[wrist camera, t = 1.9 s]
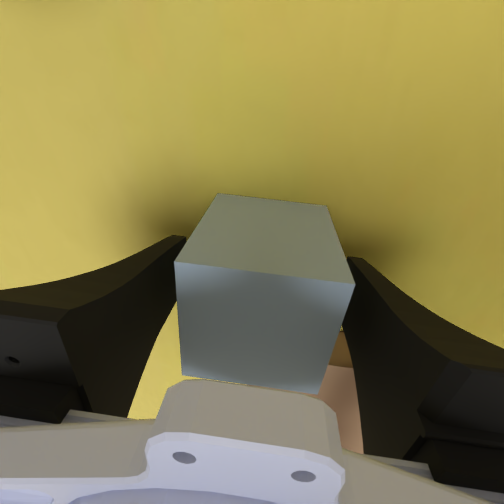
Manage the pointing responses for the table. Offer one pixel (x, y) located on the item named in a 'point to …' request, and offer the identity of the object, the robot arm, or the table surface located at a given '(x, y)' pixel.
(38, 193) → the table surface
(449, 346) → the robot arm
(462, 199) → the table surface
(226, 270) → the slate block
